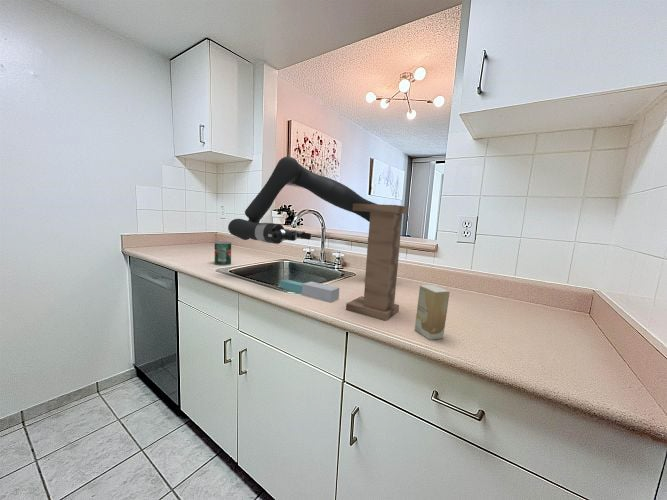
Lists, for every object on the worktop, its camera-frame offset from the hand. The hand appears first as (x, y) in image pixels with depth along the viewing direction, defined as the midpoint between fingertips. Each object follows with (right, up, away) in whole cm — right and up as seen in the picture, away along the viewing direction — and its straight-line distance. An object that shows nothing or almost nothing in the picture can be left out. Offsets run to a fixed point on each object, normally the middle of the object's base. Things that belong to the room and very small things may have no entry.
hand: (302, 237), depth 98 cm
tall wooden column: (+23, -23, -12) cm, 35 cm away
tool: (+1, -20, +1) cm, 20 cm away
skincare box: (+35, -26, -27) cm, 51 cm away
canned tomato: (-45, -12, +43) cm, 63 cm away
